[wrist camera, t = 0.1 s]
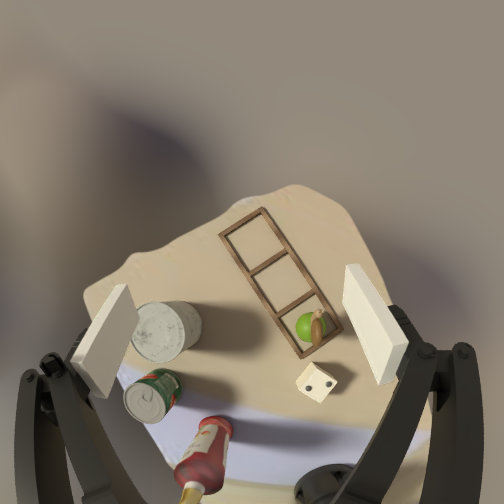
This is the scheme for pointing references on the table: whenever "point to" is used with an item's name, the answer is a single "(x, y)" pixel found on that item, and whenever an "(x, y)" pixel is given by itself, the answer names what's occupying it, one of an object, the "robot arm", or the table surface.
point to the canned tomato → (153, 395)
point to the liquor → (204, 460)
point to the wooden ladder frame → (267, 262)
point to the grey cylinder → (165, 330)
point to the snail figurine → (311, 327)
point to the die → (315, 382)
